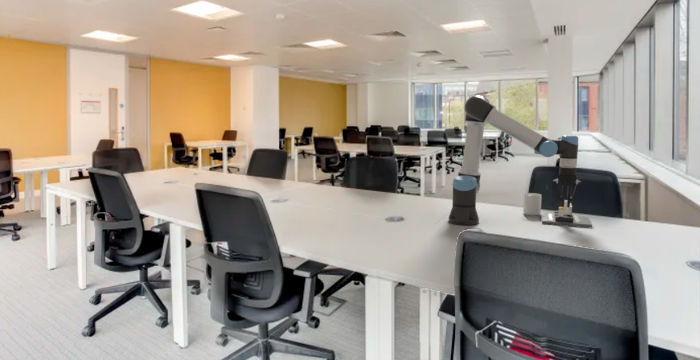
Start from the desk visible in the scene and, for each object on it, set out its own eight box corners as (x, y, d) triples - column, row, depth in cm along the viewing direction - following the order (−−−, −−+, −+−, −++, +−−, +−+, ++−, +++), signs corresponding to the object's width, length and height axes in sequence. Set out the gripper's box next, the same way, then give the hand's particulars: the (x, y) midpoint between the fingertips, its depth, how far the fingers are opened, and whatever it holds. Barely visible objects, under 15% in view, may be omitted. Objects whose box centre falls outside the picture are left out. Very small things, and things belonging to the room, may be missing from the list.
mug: (540, 216, 225) (541, 196, 224) (522, 214, 229) (523, 195, 228) (541, 212, 236) (542, 192, 234) (524, 210, 240) (525, 191, 238)
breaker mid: (566, 214, 212) (567, 206, 212) (566, 213, 215) (567, 205, 214) (571, 214, 211) (572, 206, 211) (571, 213, 214) (571, 205, 213)
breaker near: (558, 216, 208) (559, 207, 208) (558, 215, 211) (558, 206, 210) (563, 216, 208) (563, 208, 207) (562, 215, 210) (563, 207, 210)
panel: (542, 223, 210) (542, 216, 209) (541, 216, 226) (542, 209, 225) (592, 227, 201) (592, 220, 200) (588, 219, 217) (588, 213, 216)
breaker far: (566, 212, 218) (566, 204, 217) (565, 211, 220) (566, 203, 220) (570, 212, 217) (571, 204, 216) (570, 211, 219) (570, 203, 219)
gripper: (553, 167, 204) (550, 213, 208) (583, 168, 199) (580, 216, 202) (553, 165, 211) (550, 210, 214) (582, 166, 206) (579, 213, 209)
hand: (564, 213), depth 208 cm, fingers closed
